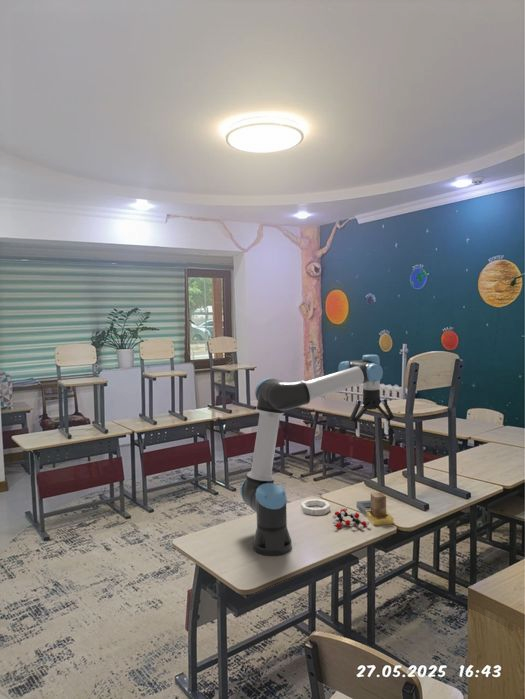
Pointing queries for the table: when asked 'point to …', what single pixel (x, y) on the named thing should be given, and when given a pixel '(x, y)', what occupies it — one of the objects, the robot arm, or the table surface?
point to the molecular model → (347, 522)
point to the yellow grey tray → (366, 510)
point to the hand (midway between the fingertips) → (372, 435)
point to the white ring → (317, 510)
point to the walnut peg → (378, 504)
